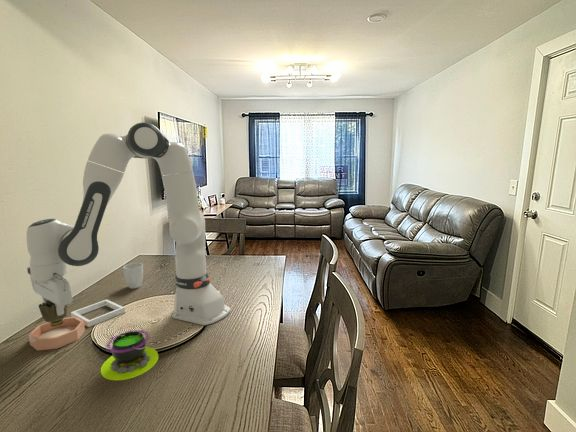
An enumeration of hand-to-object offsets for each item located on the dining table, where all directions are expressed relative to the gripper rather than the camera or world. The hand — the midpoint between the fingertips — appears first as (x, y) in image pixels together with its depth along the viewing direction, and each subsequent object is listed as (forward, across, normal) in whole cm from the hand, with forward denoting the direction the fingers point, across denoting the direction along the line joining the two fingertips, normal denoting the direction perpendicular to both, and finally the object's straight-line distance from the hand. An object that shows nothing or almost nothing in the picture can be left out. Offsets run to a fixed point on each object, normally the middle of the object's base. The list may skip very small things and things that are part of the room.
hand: (54, 311), depth 102 cm
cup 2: (+5, -1, 0) cm, 5 cm away
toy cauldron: (+10, -32, -6) cm, 34 cm away
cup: (+10, +19, -38) cm, 43 cm away
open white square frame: (+9, +5, -15) cm, 18 cm away
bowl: (+9, 0, 0) cm, 9 cm away
